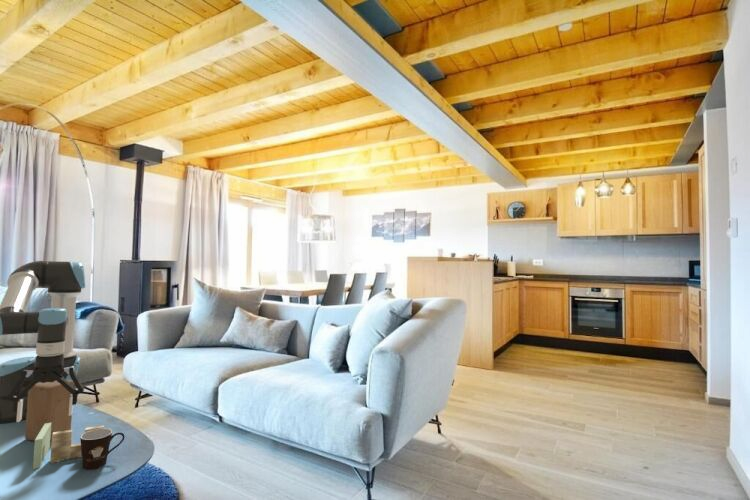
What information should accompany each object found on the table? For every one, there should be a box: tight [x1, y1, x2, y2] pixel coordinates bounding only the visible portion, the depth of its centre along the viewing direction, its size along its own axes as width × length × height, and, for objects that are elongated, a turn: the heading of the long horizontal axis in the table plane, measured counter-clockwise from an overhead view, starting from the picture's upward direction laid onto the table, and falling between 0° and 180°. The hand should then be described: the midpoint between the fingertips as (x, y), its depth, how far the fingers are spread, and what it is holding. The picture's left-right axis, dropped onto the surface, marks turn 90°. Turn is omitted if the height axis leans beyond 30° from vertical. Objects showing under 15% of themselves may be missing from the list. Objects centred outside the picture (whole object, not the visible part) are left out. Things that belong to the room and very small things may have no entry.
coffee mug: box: [80, 427, 126, 471], centre depth 130 cm, size 12×9×10 cm
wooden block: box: [24, 380, 75, 442], centre depth 148 cm, size 10×10×20 cm
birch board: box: [49, 424, 105, 464], centre depth 134 cm, size 14×4×9 cm, turn 120°
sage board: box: [32, 423, 51, 469], centre depth 132 cm, size 14×2×9 cm, turn 30°
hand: (45, 417), depth 133 cm, fingers open, 13 cm apart
